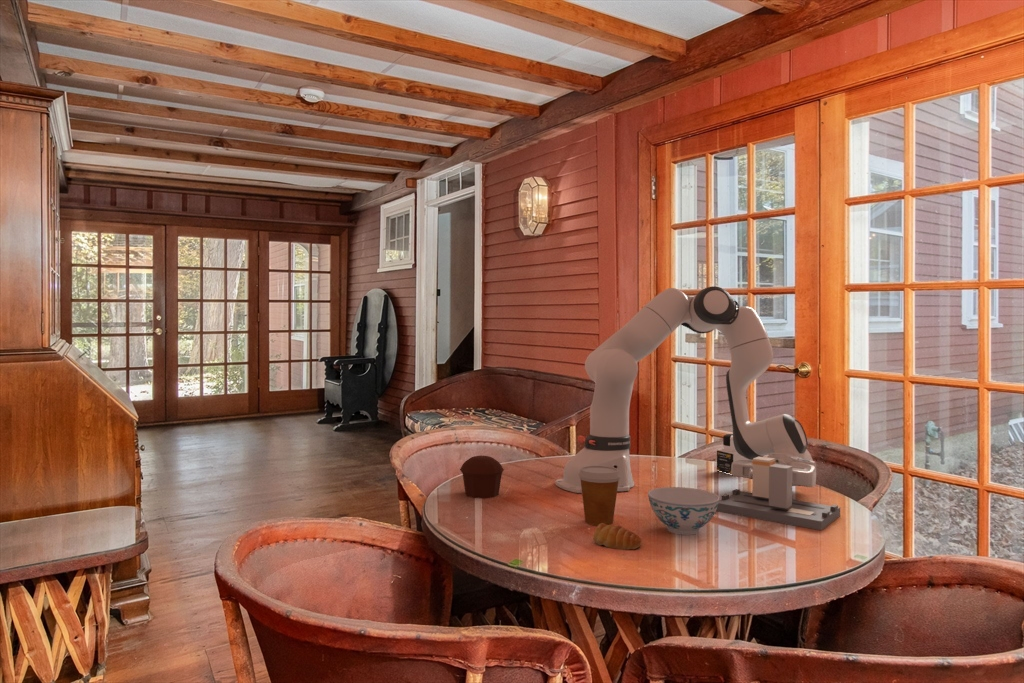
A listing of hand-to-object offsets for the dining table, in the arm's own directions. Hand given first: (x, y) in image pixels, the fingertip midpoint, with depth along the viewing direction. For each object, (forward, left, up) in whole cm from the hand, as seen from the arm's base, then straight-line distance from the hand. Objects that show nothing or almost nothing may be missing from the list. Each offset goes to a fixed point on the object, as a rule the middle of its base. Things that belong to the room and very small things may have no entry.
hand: (762, 477), depth 159 cm
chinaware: (-30, -8, -8) cm, 32 cm away
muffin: (-60, +38, -8) cm, 72 cm away
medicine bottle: (+23, +36, -8) cm, 44 cm away
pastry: (-49, -10, -8) cm, 50 cm away
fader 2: (-3, -8, -5) cm, 10 cm away
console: (0, -5, -8) cm, 9 cm away
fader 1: (+1, 0, -5) cm, 5 cm away
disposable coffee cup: (-44, +4, -8) cm, 45 cm away
